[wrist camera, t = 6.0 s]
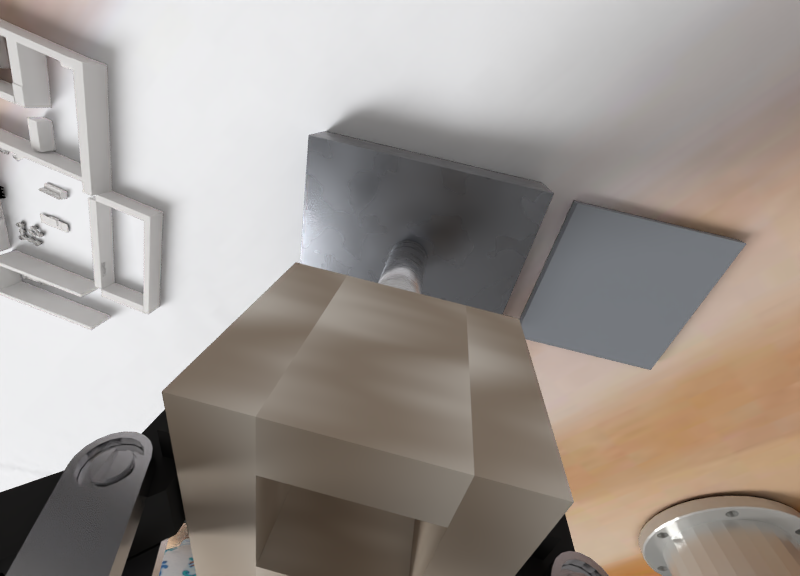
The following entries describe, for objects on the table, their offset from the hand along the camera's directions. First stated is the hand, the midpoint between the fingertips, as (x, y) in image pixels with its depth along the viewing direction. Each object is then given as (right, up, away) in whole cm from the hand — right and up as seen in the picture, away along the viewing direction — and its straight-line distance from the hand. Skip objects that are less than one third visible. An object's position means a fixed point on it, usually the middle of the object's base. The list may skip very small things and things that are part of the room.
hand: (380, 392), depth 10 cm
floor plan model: (-21, +9, +13) cm, 27 cm away
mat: (+13, +3, +10) cm, 17 cm away
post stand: (+1, +6, +11) cm, 12 cm away
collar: (0, 0, +1) cm, 1 cm away
